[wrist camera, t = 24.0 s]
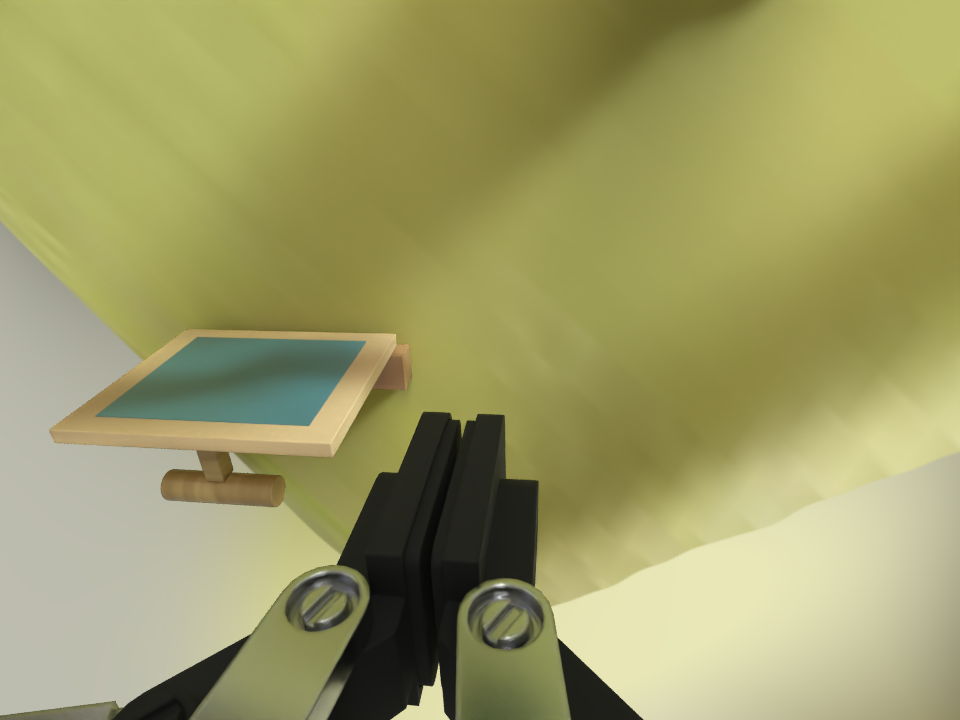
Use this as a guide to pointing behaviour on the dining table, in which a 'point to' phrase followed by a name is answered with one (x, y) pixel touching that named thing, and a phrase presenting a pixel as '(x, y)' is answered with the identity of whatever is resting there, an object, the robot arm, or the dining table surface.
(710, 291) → the dining table surface
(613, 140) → the dining table surface
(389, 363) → the frame foot
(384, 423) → the dining table surface
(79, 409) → the photo frame
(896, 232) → the dining table surface
